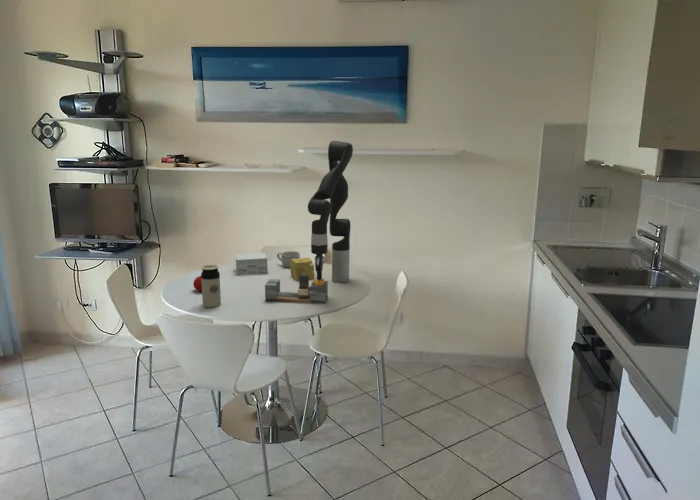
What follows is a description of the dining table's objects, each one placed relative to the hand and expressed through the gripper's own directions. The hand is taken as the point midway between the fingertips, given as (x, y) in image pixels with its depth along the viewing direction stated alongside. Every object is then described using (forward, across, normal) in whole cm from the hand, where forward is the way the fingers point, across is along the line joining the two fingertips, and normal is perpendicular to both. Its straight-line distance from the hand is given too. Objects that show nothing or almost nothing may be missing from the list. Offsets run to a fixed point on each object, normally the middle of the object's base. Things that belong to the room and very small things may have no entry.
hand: (319, 279), depth 241 cm
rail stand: (+10, 0, -11) cm, 15 cm away
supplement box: (+10, -45, -43) cm, 63 cm away
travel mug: (+11, +12, -48) cm, 50 cm away
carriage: (+7, 0, -7) cm, 10 cm away
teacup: (+10, -59, -25) cm, 65 cm away
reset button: (+4, 0, 0) cm, 5 cm away
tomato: (+10, -8, -59) cm, 60 cm away
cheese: (+10, -36, -14) cm, 40 cm away
